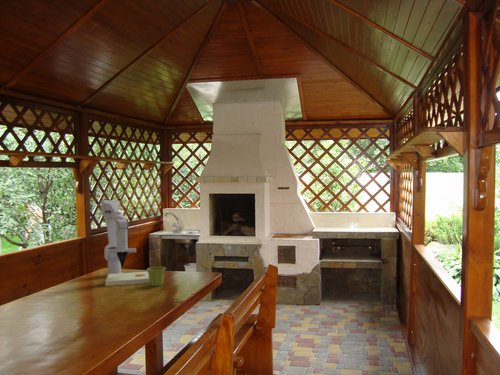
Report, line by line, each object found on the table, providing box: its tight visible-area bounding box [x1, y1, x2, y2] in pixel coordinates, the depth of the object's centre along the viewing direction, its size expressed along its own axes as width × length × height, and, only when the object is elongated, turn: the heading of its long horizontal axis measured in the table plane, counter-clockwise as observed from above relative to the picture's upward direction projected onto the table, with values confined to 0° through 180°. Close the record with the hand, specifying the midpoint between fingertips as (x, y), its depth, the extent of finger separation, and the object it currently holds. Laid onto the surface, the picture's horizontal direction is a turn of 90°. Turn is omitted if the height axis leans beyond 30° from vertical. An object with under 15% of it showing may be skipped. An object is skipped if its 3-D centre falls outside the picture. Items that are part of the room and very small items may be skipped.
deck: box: [104, 271, 150, 287], centre depth 226 cm, size 18×24×4 cm
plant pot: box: [146, 266, 166, 287], centre depth 216 cm, size 9×9×9 cm
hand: (122, 266), depth 225 cm, fingers closed
